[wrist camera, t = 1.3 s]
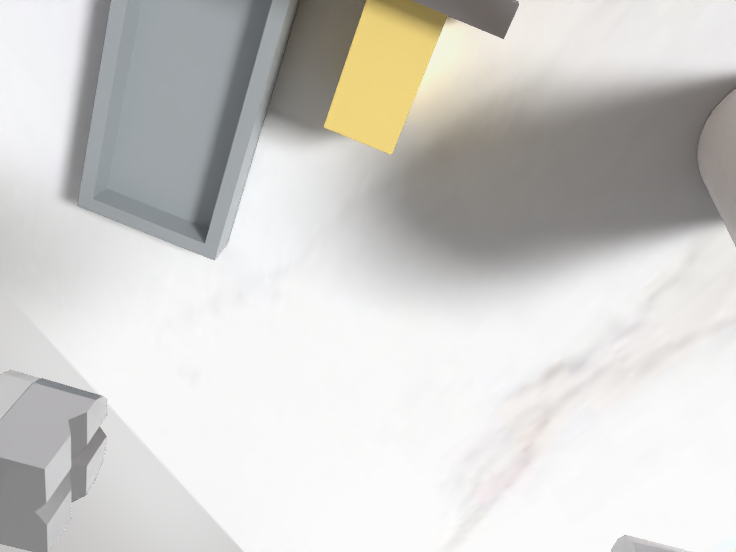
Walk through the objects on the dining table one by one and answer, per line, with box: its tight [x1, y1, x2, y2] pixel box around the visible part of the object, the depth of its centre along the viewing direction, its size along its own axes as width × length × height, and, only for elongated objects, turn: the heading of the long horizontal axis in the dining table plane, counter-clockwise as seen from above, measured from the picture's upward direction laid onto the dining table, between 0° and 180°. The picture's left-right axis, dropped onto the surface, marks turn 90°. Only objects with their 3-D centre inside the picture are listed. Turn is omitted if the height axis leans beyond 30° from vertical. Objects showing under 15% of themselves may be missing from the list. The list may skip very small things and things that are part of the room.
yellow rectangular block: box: [324, 0, 447, 155], centre depth 28 cm, size 10×3×5 cm, turn 160°
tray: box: [77, 0, 300, 260], centre depth 32 cm, size 14×7×2 cm, turn 160°
